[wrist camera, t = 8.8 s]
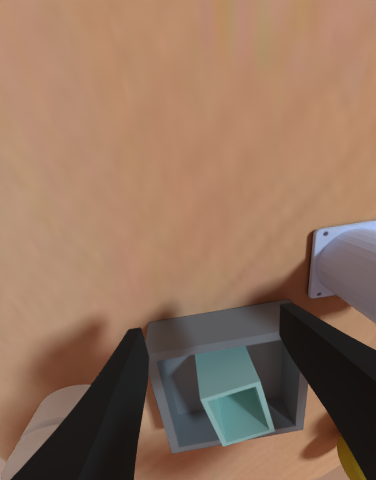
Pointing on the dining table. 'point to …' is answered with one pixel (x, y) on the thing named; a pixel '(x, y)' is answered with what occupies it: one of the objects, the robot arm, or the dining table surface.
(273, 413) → the charcoal crate
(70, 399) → the honey pot
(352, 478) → the lemon
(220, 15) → the dining table surface
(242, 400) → the teal crate
